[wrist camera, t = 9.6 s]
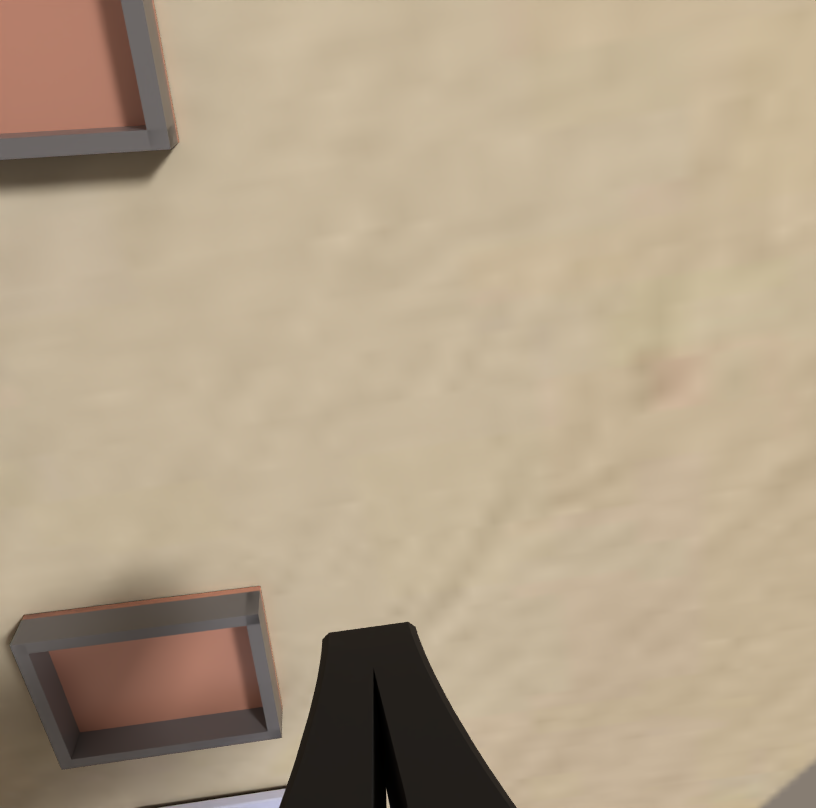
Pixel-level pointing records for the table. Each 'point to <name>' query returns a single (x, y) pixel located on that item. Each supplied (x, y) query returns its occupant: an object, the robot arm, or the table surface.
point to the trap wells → (149, 619)
